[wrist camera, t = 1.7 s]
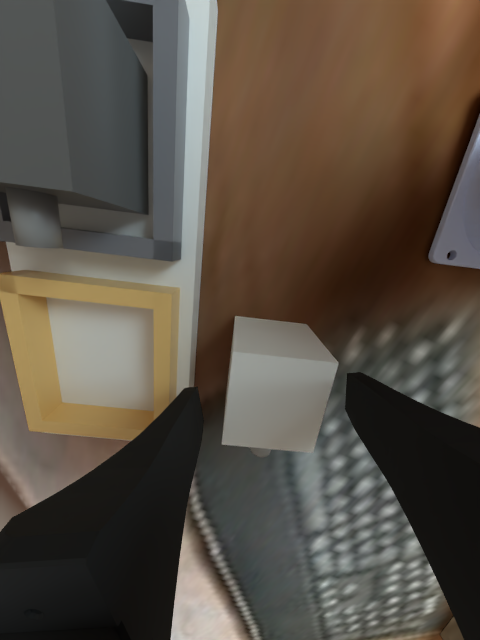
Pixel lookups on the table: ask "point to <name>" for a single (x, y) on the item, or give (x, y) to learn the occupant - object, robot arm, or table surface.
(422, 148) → the table surface
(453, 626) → the desk tray
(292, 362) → the plug
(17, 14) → the twin plug
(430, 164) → the table surface
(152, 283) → the white base platform
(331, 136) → the table surface
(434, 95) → the table surface
